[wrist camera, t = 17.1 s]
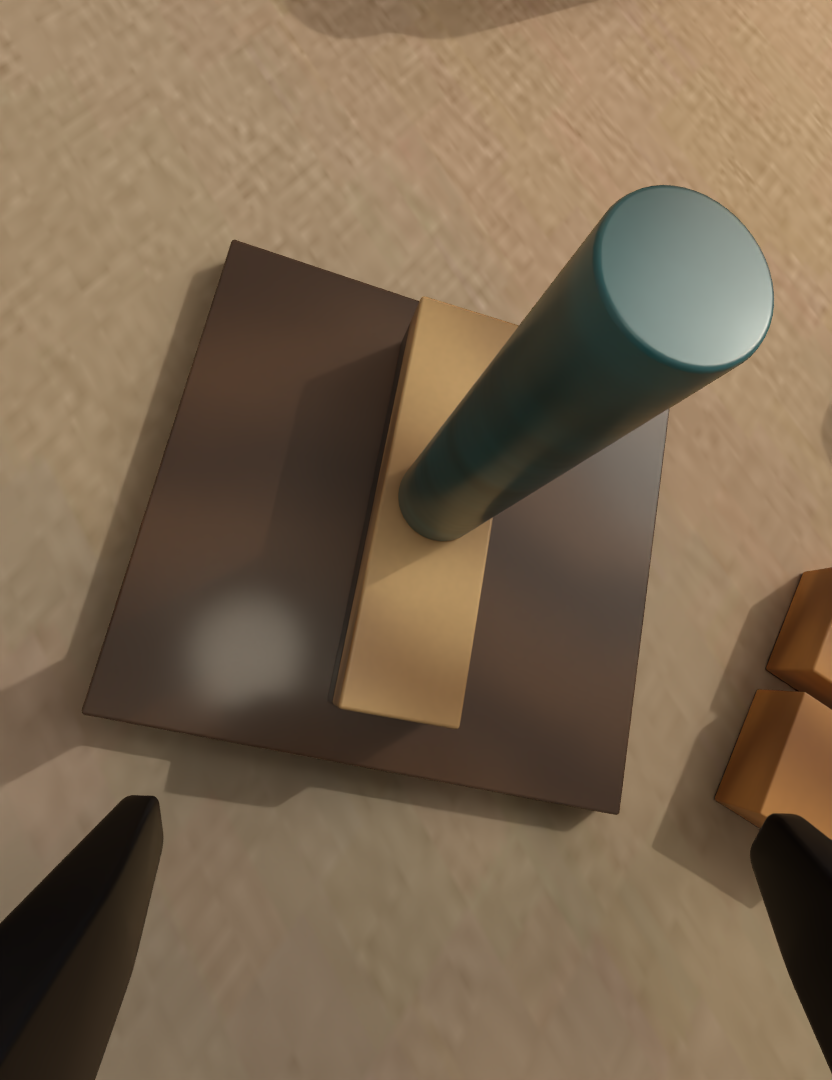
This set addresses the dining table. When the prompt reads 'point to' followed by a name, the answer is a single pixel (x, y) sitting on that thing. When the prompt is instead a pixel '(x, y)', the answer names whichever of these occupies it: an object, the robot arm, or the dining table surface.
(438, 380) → the brush
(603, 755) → the shelf board
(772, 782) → the brown wooden square block
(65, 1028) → the robot arm
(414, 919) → the dining table surface
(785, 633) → the wooden square block
